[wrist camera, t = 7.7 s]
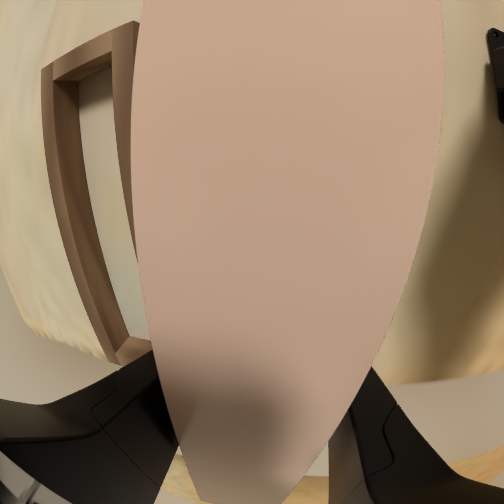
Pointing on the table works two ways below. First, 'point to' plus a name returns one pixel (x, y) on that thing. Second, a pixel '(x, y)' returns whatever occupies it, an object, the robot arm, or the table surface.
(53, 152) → the frame
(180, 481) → the table surface
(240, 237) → the clay strip
